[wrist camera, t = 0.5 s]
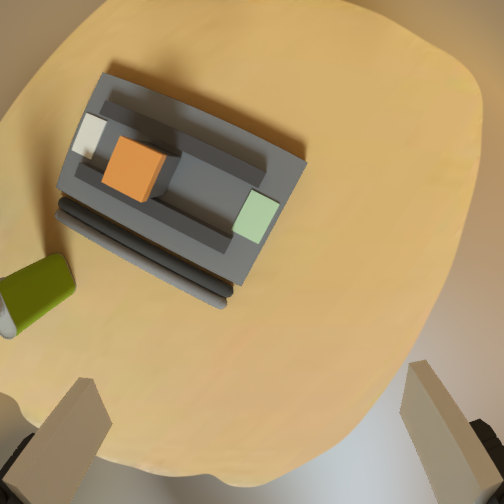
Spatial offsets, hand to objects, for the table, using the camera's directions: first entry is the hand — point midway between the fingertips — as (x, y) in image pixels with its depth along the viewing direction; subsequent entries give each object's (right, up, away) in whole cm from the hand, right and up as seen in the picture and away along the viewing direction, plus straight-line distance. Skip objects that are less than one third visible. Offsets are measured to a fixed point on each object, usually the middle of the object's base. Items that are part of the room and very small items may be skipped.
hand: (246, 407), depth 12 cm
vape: (-24, +3, +25) cm, 35 cm away
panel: (-8, +15, +21) cm, 27 cm away
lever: (-9, +14, +19) cm, 25 cm away
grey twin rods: (-13, +6, +23) cm, 27 cm away
